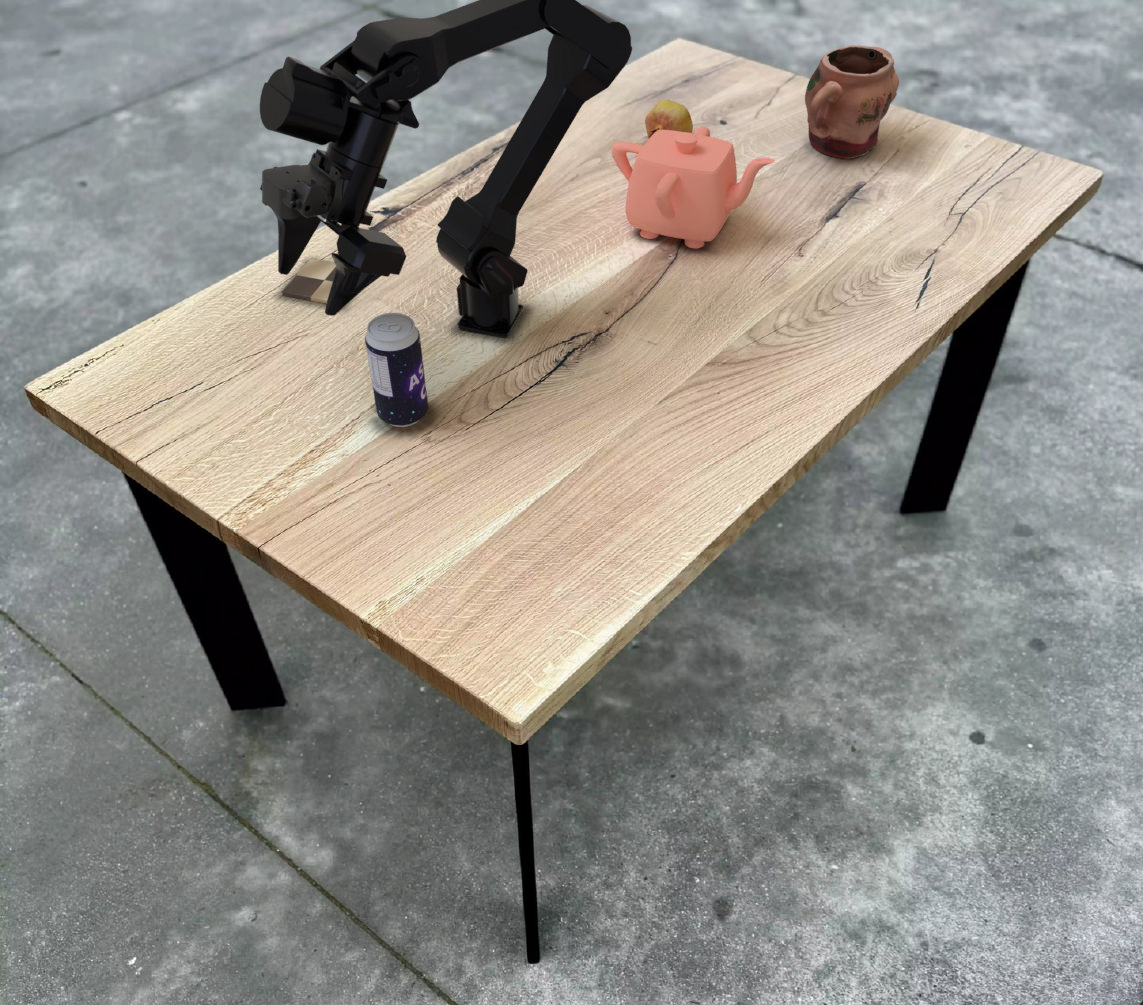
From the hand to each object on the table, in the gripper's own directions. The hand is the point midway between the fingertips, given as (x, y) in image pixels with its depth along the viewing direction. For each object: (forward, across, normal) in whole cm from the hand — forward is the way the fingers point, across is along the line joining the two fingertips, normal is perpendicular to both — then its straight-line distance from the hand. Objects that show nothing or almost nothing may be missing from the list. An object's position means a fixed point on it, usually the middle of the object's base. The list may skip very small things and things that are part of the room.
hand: (305, 293), depth 116 cm
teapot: (-18, +3, +54) cm, 57 cm away
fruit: (-25, -16, +68) cm, 74 cm away
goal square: (+6, -17, +17) cm, 25 cm away
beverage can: (+8, +11, +10) cm, 17 cm away
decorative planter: (-35, +3, +83) cm, 90 cm away
